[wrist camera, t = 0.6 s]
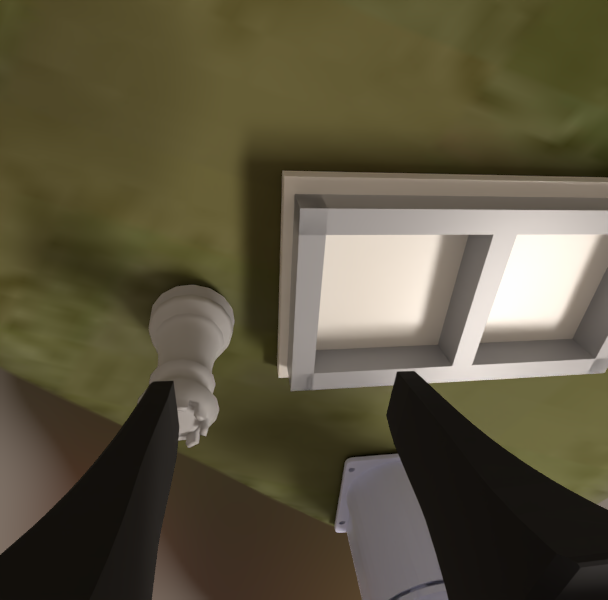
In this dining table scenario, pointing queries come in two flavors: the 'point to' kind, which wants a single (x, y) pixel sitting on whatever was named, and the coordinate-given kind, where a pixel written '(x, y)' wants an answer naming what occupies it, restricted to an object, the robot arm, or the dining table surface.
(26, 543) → the robot arm
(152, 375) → the rook chess piece
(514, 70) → the dining table surface
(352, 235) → the pocket tray
